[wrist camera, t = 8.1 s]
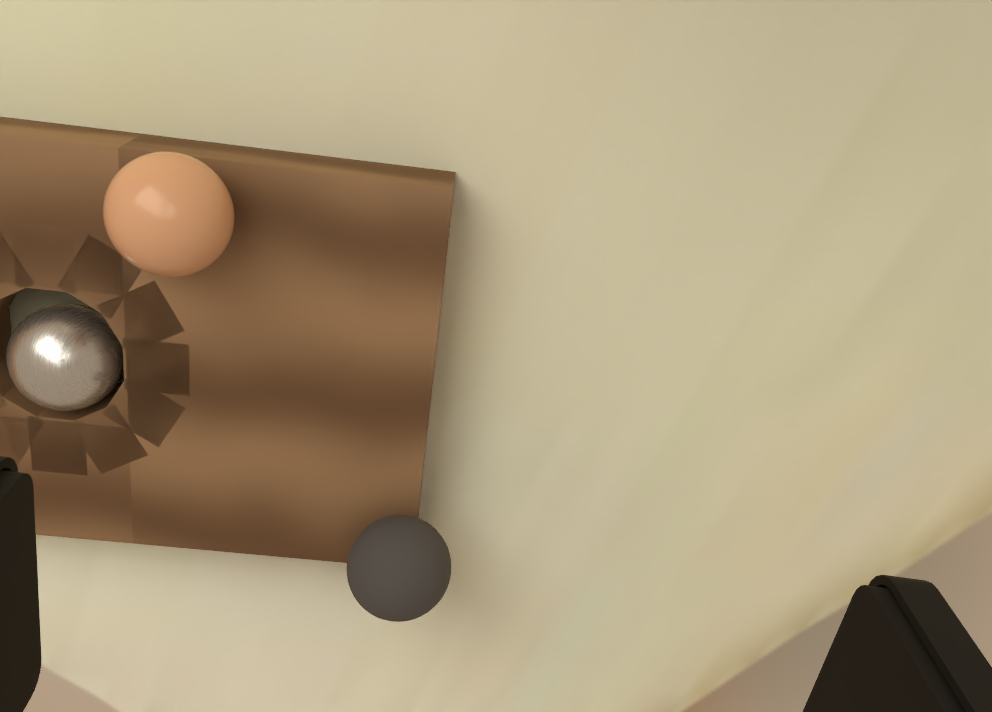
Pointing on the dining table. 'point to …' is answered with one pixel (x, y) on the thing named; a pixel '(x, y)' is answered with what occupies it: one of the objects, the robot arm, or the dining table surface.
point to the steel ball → (64, 357)
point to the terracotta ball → (168, 214)
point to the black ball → (399, 568)
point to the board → (231, 348)
